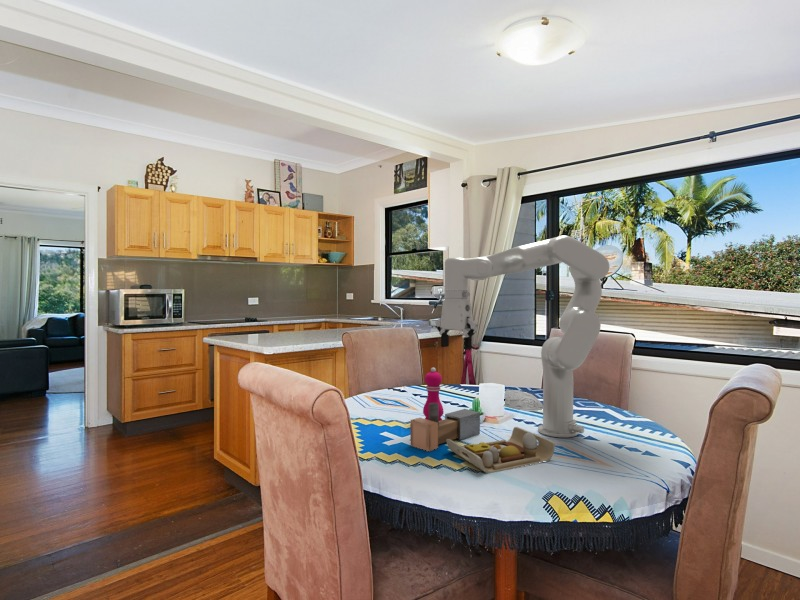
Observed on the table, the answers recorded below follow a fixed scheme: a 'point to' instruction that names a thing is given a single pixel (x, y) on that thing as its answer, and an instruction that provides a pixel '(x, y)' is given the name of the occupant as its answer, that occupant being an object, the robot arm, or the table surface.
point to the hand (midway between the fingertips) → (456, 348)
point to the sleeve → (466, 422)
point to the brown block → (424, 434)
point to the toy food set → (506, 451)
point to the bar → (443, 424)
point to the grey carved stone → (522, 401)
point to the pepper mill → (433, 392)
